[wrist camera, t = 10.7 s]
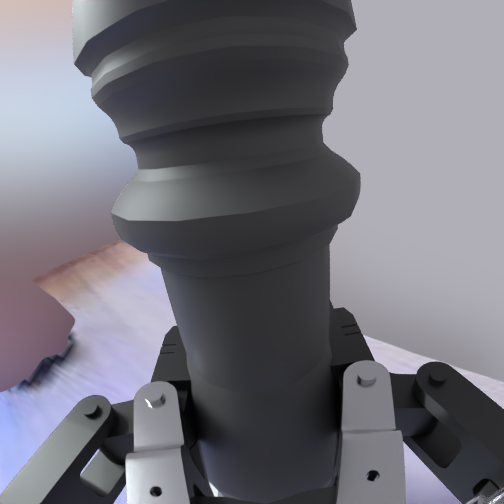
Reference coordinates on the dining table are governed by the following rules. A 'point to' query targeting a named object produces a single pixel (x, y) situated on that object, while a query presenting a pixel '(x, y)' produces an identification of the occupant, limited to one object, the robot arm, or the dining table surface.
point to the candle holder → (235, 211)
